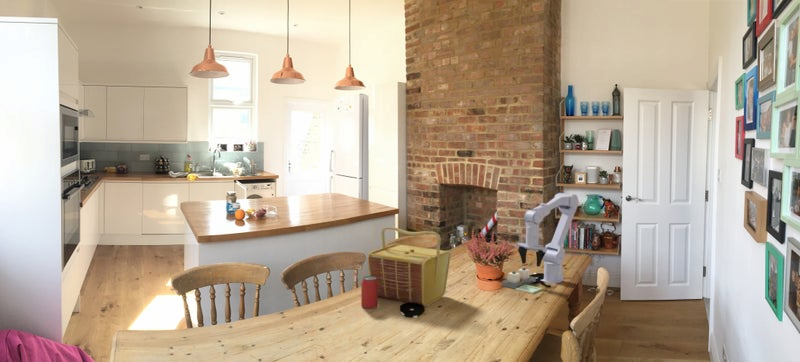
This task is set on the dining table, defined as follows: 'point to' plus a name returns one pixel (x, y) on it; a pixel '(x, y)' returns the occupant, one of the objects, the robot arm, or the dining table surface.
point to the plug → (513, 277)
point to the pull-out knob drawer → (524, 273)
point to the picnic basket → (410, 270)
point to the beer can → (369, 292)
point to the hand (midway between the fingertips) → (531, 264)
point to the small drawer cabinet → (521, 283)
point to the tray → (528, 289)
